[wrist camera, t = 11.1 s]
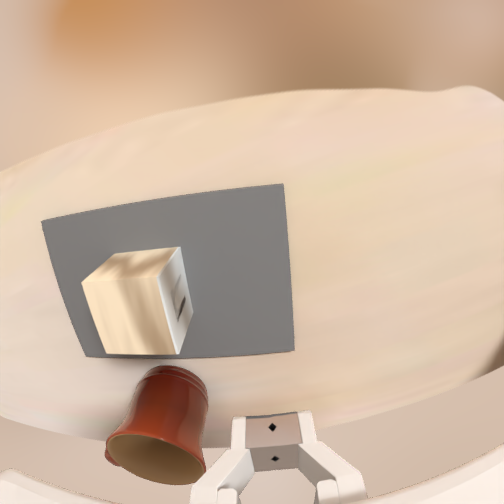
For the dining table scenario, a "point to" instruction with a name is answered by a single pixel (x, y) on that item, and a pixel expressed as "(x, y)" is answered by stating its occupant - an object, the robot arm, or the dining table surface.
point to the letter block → (140, 302)
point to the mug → (163, 428)
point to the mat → (191, 265)
